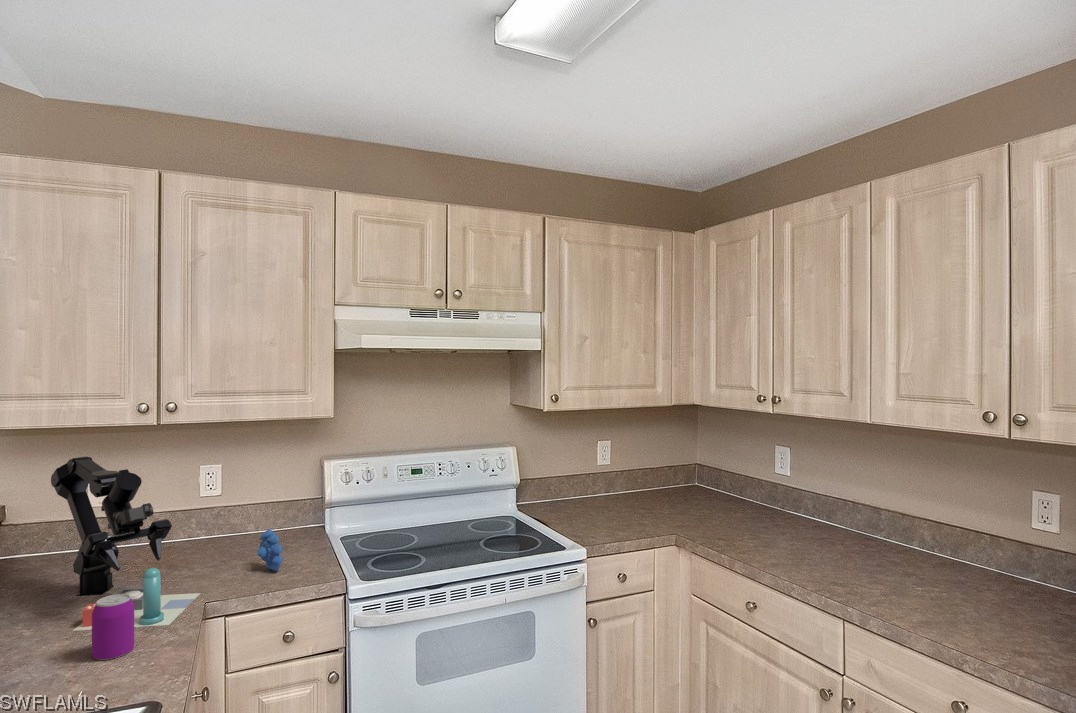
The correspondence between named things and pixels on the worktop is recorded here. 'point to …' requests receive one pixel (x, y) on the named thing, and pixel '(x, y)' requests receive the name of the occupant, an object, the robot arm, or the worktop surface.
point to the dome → (134, 594)
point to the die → (88, 615)
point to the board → (169, 607)
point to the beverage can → (112, 627)
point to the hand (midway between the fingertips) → (139, 564)
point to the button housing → (137, 602)
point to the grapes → (270, 550)
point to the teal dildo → (151, 598)
